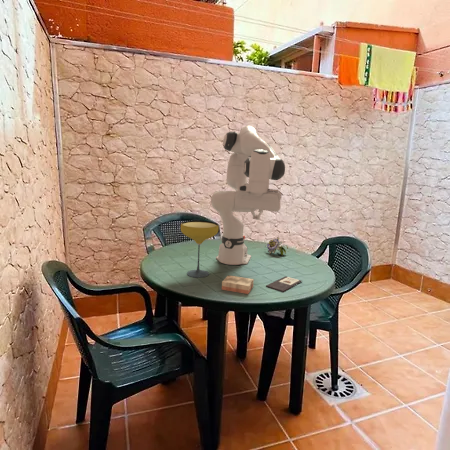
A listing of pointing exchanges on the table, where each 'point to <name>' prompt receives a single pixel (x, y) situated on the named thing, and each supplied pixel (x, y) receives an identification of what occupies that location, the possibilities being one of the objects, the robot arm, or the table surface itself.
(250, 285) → the tan wooden block
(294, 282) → the chocolate bar
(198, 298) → the table surface
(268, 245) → the passion flower
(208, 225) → the cocktail glass
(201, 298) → the table surface
